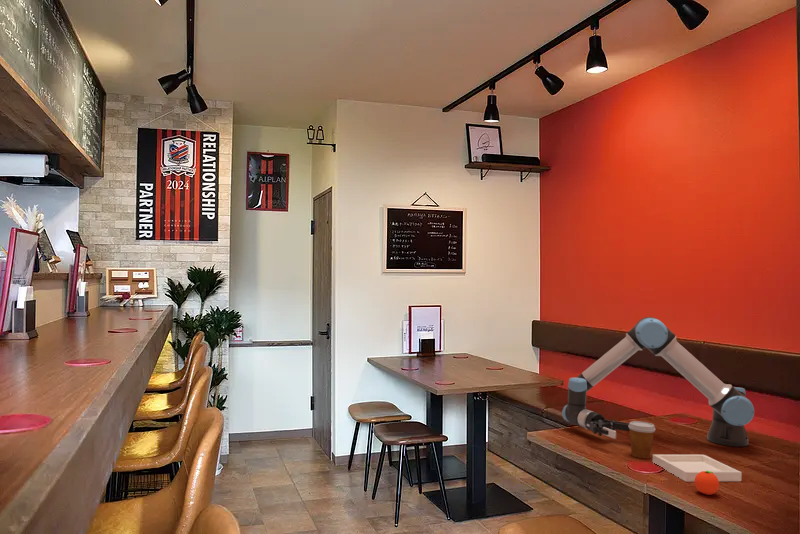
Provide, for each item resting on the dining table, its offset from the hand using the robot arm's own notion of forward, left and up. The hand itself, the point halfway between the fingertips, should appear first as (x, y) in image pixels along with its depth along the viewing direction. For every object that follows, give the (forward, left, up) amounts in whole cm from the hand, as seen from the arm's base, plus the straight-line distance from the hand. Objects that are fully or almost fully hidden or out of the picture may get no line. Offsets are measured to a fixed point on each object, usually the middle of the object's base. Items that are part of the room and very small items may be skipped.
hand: (629, 434), depth 237 cm
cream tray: (-12, +23, -7) cm, 27 cm away
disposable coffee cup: (-2, +5, -7) cm, 9 cm away
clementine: (-2, +44, -7) cm, 45 cm away
